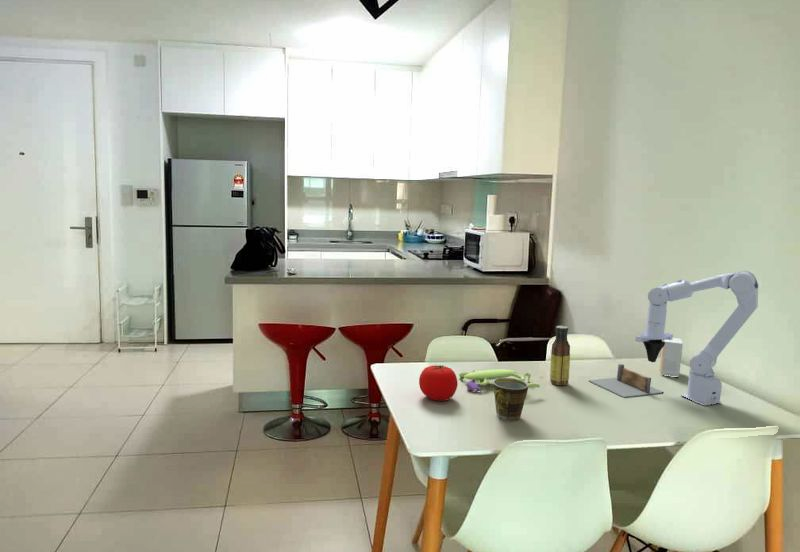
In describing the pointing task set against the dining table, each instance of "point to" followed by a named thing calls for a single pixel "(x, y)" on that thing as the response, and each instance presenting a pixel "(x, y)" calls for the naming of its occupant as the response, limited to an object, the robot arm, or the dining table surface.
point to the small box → (671, 357)
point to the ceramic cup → (509, 397)
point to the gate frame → (623, 386)
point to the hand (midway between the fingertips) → (651, 361)
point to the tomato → (438, 382)
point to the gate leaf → (634, 379)
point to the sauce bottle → (560, 358)
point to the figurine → (491, 377)
